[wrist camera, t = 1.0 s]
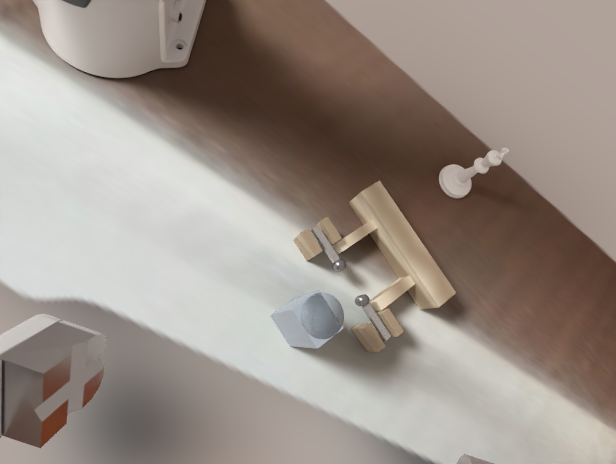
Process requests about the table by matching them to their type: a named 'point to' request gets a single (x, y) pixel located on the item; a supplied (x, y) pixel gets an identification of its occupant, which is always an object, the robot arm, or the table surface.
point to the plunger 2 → (372, 316)
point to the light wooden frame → (398, 252)
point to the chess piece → (467, 173)
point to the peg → (310, 320)
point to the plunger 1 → (329, 250)
